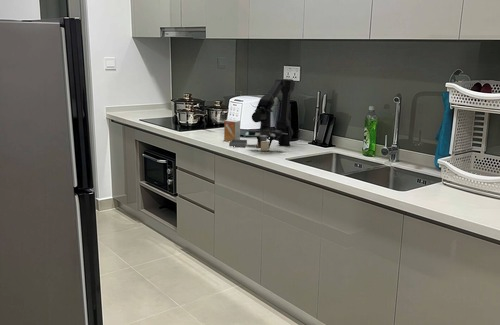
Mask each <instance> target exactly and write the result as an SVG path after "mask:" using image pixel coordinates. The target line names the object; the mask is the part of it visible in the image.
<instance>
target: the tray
mask: <svg viewBox="0 0 500 325" xmlns="http://www.w3.org/2000/svg"><path fill="white" fill-rule="evenodd" d="M228 144H229V146H235V147H234V148H246V147H247V145H246V144H248V140H247V139H240V140H235V139H232V140H231V141H230V142H229V143H228ZM229 146H228V147H229ZM245 146H246V147H245Z"/></svg>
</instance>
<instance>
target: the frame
mask: <svg viewBox="0 0 500 325" xmlns="http://www.w3.org/2000/svg"><path fill="white" fill-rule="evenodd" d="M260 136H261V135H260ZM256 139H257V138H256ZM256 143H257V144H256V149H261V148H260V145H259V142H258V139H257V142H256Z"/></svg>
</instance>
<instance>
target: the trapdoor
mask: <svg viewBox="0 0 500 325" xmlns="http://www.w3.org/2000/svg"><path fill="white" fill-rule="evenodd" d="M244 136H246V137H255V135H249V131H248V132H245V134H244ZM260 137H261V141H267V142H268V136H266V135H261V136H260Z"/></svg>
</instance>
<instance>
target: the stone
mask: <svg viewBox="0 0 500 325" xmlns="http://www.w3.org/2000/svg"><path fill="white" fill-rule="evenodd" d="M269 142H270V141H268V140H267V141H261V148H260V151H263V152H264V151H265V152H266V151H267V152H268V151H270V148H269Z"/></svg>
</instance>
